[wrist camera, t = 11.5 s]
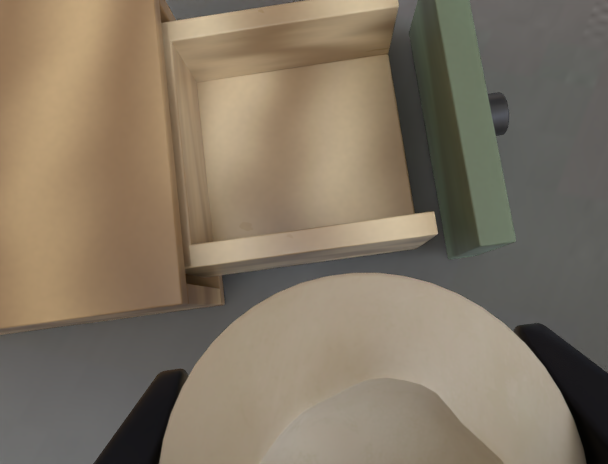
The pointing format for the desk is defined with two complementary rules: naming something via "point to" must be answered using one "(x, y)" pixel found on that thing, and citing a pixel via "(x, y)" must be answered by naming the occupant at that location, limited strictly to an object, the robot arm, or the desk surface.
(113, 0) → the box
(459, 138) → the drawer
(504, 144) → the desk surface
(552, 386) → the candle
